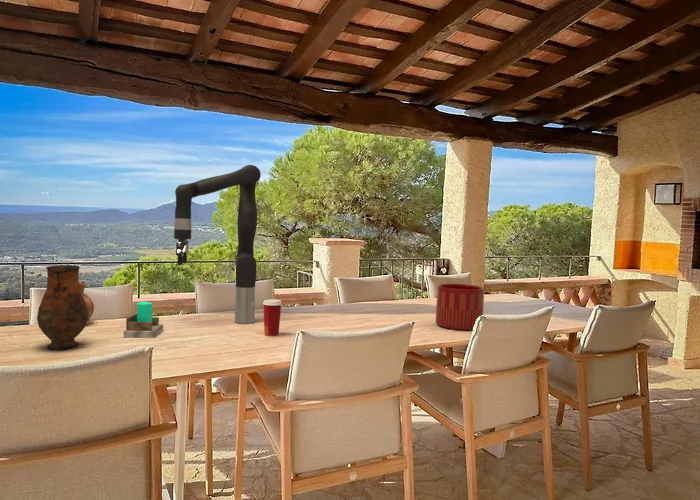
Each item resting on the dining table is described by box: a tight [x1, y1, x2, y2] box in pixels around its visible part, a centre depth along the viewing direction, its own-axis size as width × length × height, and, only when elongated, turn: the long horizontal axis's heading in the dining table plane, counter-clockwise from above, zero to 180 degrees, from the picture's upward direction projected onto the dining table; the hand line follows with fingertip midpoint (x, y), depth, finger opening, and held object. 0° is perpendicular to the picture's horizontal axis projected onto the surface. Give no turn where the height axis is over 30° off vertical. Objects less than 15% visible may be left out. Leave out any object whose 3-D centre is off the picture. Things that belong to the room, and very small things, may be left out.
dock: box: [123, 313, 164, 339], centre depth 210 cm, size 12×14×8 cm
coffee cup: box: [262, 298, 283, 337], centre depth 217 cm, size 8×8×15 cm
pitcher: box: [36, 264, 89, 351], centre depth 187 cm, size 17×21×30 cm
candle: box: [136, 301, 153, 322], centre depth 210 cm, size 6×6×12 cm
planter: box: [435, 283, 485, 331], centre depth 250 cm, size 23×23×20 cm
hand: (182, 264), depth 229 cm, fingers open, 8 cm apart
